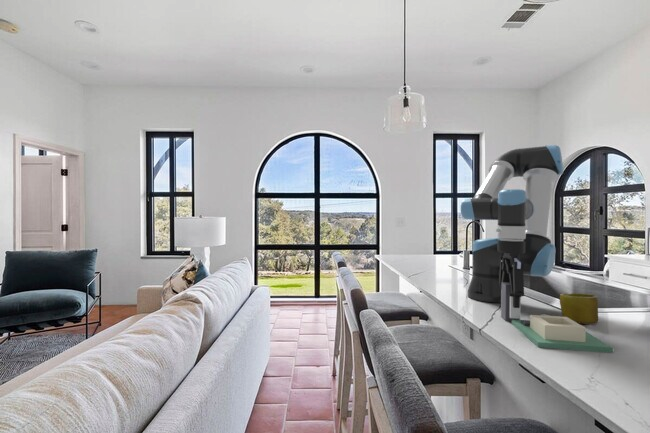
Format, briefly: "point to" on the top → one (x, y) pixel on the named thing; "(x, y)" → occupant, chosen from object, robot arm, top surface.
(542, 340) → the board
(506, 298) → the plug
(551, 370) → the top surface
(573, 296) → the mug
